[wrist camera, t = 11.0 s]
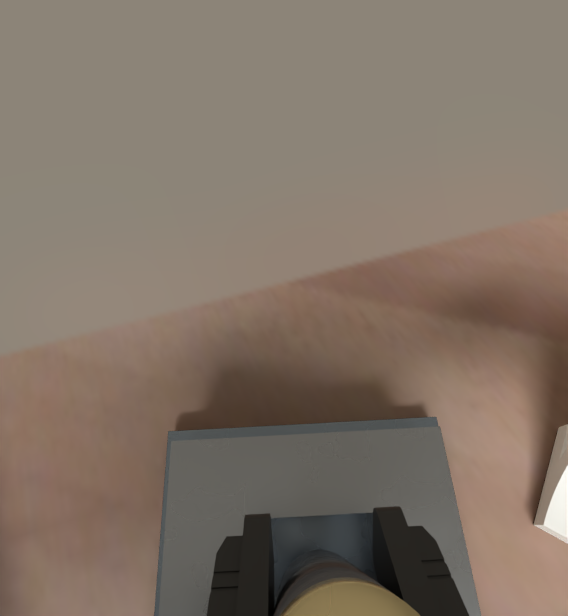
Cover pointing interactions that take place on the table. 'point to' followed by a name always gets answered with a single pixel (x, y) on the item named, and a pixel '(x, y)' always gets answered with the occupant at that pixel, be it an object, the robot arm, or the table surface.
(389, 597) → the brass pin
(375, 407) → the table surface
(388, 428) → the square hole socket
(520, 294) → the table surface
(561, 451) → the headphone stand
